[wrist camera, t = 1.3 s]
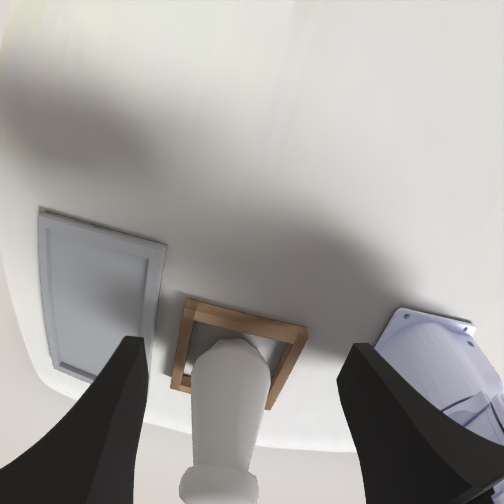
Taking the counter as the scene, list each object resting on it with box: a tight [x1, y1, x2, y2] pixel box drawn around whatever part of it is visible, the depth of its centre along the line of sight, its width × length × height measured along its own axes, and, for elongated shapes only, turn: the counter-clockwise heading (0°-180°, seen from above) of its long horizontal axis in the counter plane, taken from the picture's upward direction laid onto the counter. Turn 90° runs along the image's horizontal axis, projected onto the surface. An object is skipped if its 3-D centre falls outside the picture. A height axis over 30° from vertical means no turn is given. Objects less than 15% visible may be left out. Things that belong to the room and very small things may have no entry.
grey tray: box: [38, 211, 167, 397], centre depth 23 cm, size 10×16×1 cm, turn 164°
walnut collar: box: [170, 299, 308, 410], centre depth 23 cm, size 9×9×1 cm
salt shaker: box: [179, 338, 271, 504], centre depth 18 cm, size 6×6×13 cm
